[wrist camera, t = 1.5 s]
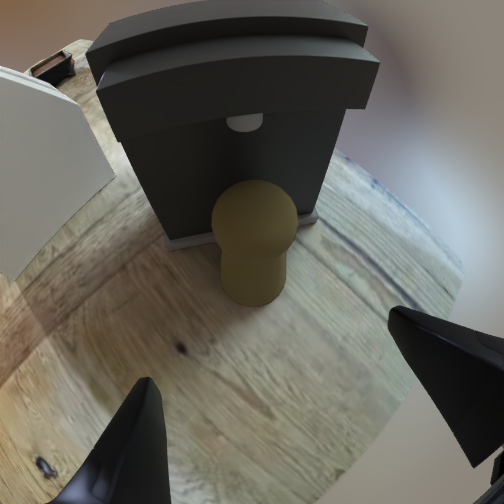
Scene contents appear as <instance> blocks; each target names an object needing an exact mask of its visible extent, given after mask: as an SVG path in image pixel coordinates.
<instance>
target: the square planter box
mask: <svg viewBox="0 0 504 504" xmlns="http://www.w3.org/2000/svg"><path fill="white" fill-rule="evenodd" d="M71 58H72V54H70V53H67V52H66V51H65V50H61V51H59V52H57V53H55V54H53V55H52V56H50V57H48V58H46V59H45V60H43V61H41V62H40V63H38V64H37V65H35V66H34V67H32V68H31V69H29V71H28V72H29V75H30V76H31V77H34V78H36V79H39V80H42V81H44V82H47V83H49V84H50V85H51V84H53V83H55V82H57V81H60V80H62V79H64V78H67V77H70V76H75V71H74V60H73V59H71Z"/></svg>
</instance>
